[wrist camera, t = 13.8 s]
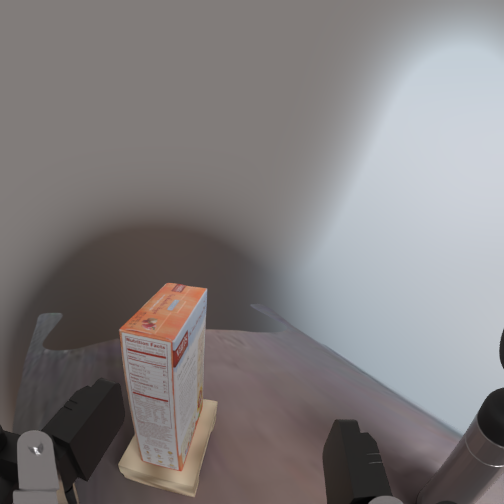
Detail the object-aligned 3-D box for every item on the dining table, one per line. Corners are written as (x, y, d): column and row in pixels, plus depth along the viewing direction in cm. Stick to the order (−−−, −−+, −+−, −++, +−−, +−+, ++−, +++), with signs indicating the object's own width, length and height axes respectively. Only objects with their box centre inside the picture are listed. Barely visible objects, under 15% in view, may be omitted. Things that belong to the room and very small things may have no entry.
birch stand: (216, 417, 46) (217, 401, 45) (193, 499, 28) (193, 486, 27) (161, 405, 46) (159, 389, 45) (123, 479, 29) (118, 464, 28)
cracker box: (167, 400, 43) (166, 280, 38) (203, 408, 42) (210, 287, 38) (137, 461, 29) (115, 325, 25) (182, 474, 29) (177, 339, 24)
